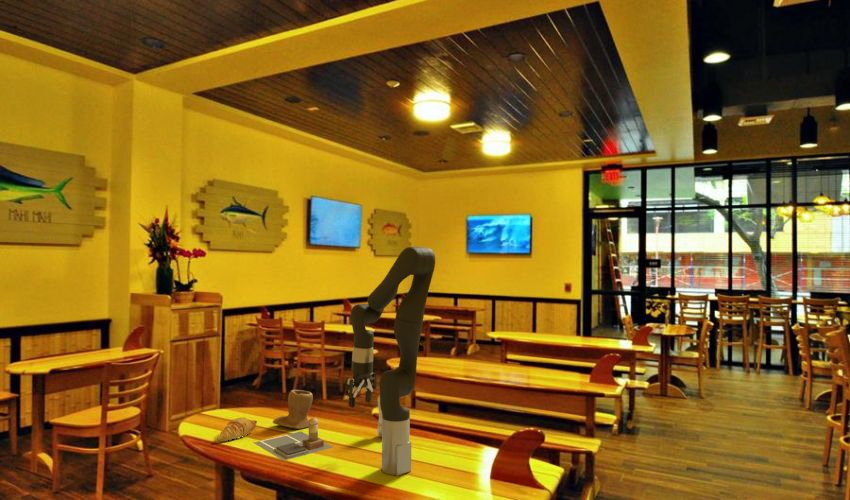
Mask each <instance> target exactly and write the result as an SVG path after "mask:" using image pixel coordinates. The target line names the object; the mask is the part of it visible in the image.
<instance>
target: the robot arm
mask: <svg viewBox="0 0 850 500" xmlns="http://www.w3.org/2000/svg"><path fill="white" fill-rule="evenodd" d="M435 266H436V255H435V253H434V251H433V249H431V248H430V247H425V246H408V247H406V248H404V249H403V250H402V251H401V252H400V254H399V255H398V256H397V258H396V260H395V261H394V263H393V264H392V265H391V267H390V268H389V271H388V272H387V273H386V275H385V276H384V278H383V279H382V280H381V282H380V283H379V285H377V287H376V288H375V289H373V291H372V292H371V293H370V294H369V295H368V297H367V303H359V304H355V305H354V306H353V307H352V308H351V311H350V323H351V327H352V332H353V349H352V353H351V354H352V355H351V357H352V358H351V373H352V375H353V376H352V378H346V379H345V388H344V396H347V397H348V406H349V407H350V409H351V408H352V409H355V408H356V400H357V399H356V396H357V394H358V393H359V392H360V390H362V389H365V398H364V399H365V400H364V401H365V403H371V402H372V395H373V392H374V390H377V377H378V376H377V374H378V373H376V372H373V369H374V340H375V339H374V338H375V337H374V335H375V334H374V332H373V331H372V330H370V329H366V324H375V323H376V322H377V321H378V320H379V319H381V316H382V314H383V312H384V310H385V308H387V307H388V305H389V304H390V303H391V302H392V301H393V300H394V299H395V298H396V296H397V294H398V291H399V286H400V285H401V283H402V282H403V281H404V280H405V279H407V278H409V276H412V279H411V280H412V281H411V285H410V287H409V290H408V292H407V293H406V295H405V296H404V298H403V299H402V301H401V302H400V304H399V306H398V308H397V310H396V313H395V317H394V319H395V320H394V324H393V334H394V337H395V341H396V343H397V345H398V348H399V352H400V354H399V355H400V357H399V364H398V367H397V368H396V369H395V368H394V369H390V370H386V371H384V372H382V374H381V375H380V378H379V395H380V407H381V411H382V437H381V471H382V472H383V473H384V474H387V475H392V476H394V475H395V476H397V477H398V476H400V475H404V474H406V473H409V472H411V471H412V442H411V441H410V433H411V432H410V429H411V428H410V427H411V426H410V424H411V421H410V418H411V414H410V409H409V407H407V406H404V405H401V401H400V398H401V397H405V396H408V395H410V394H411V393H413V391H414V389H415V385H416V381H417V379H416V378H417V365H418V364H417V363H418V356H419V355H418V353H419V346H420V345H419V344H420V340H421V335H422V330H423V323H424V315H425V311H426V305H427V300H428V294H429V290H430V286H431V283H432V279H433V275H434V271H435Z"/></svg>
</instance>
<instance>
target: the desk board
mask: <svg viewBox="0 0 850 500" xmlns="http://www.w3.org/2000/svg"><path fill="white" fill-rule="evenodd" d="M308 438H309V434H307V433H305V432H303V431H297V432H293V433H287V434H284V435H279V436H275V437H271V438H267V439H263V440H260V441H258V440H257V441H256V442H253V444H255V445H256V446H259V447H260V448H262V449H263V450H265V451H267V452H268V453H270V454H271V455H274V456H275V457H277V458H279V460H282V461H289V460H291V459H295V458H299V457H302V456H306V455H310V454H314V453H317V452H321V451H324V450H328V449H332V448H333V446H332V445H330V444H328V443H326V442H324V446H322V447H319V448H315V449H311V450H310V449H308V448H306V447H304V446H303V440H304V439H308Z"/></svg>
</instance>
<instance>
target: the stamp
mask: <svg viewBox="0 0 850 500" xmlns="http://www.w3.org/2000/svg"><path fill="white" fill-rule="evenodd" d="M308 421H309V427H308V435H309V438H308V439H304V440H303V446H304V447H306V448H308V449H310V450H311V449H315V448H319V447H322V446H324V443H325V442H324V441H325V440H324V439H322V438H320V437H319V419H318V418H317V417H311V418H310V419H308Z"/></svg>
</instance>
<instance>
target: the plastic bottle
mask: <svg viewBox="0 0 850 500" xmlns="http://www.w3.org/2000/svg"><path fill="white" fill-rule="evenodd" d="M376 400H377V408H378V421H377V422H378V423H377V424H378V425H377V429H376V430H377V432H376V433H377V435H378V437H379V438H382V411H381V407H380V394H379V395H378V397H377V399H376Z"/></svg>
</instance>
